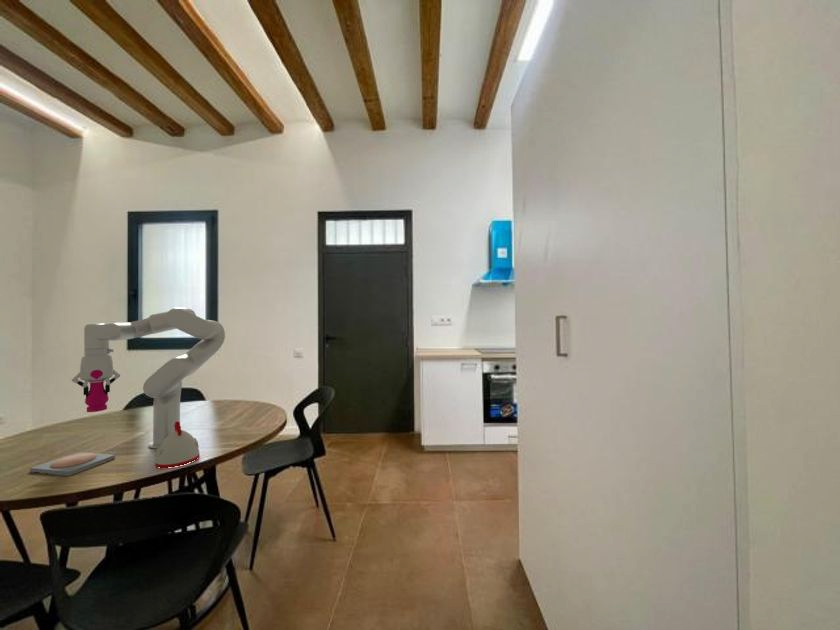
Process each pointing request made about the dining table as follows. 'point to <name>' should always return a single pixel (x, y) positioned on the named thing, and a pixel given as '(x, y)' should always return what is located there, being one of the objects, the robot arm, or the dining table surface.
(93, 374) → the pepper mill
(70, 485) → the dining table surface
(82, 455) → the slate board
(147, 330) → the robot arm
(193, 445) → the kitchen timer
